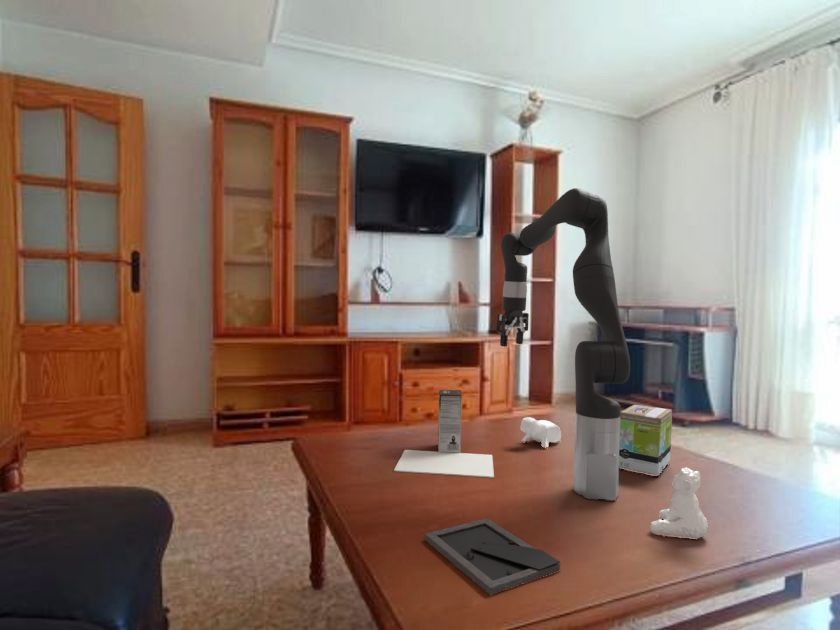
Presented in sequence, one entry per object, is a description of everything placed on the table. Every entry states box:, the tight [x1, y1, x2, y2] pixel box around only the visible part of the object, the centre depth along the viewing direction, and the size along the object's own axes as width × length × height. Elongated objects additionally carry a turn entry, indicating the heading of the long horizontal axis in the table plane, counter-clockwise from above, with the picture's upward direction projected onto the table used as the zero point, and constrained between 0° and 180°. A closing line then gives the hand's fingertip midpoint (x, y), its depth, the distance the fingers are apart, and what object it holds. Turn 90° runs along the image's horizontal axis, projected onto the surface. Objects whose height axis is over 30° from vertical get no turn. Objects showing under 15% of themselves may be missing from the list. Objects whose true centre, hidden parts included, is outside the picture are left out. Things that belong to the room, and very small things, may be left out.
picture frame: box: [424, 517, 561, 596], centre depth 77 cm, size 13×2×18 cm
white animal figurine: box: [520, 416, 562, 448], centre depth 142 cm, size 9×8×15 cm
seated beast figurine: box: [650, 466, 709, 539], centre depth 86 cm, size 10×9×12 cm
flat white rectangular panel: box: [393, 449, 495, 479], centre depth 122 cm, size 17×24×1 cm
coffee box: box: [437, 389, 463, 453], centre depth 135 cm, size 9×6×16 cm
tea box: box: [619, 404, 673, 476], centre depth 123 cm, size 15×10×15 cm
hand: (511, 345), depth 156 cm, fingers open, 8 cm apart
